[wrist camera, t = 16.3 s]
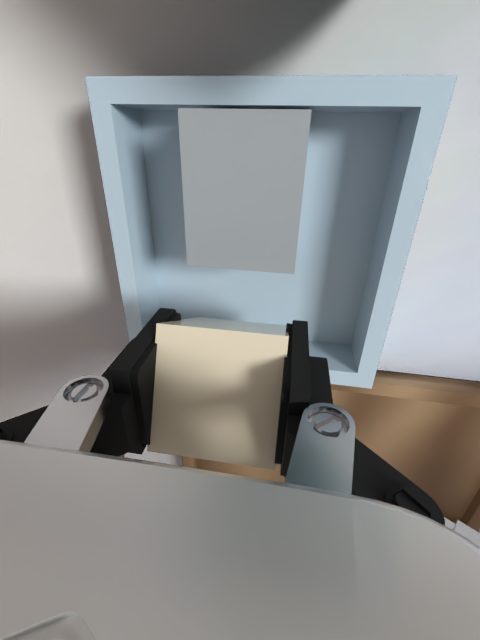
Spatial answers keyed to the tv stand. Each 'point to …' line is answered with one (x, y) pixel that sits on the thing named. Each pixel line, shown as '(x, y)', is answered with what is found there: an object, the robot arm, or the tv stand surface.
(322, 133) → the light blue tray
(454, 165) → the tv stand surface
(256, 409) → the cream rectangular block
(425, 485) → the walnut tray
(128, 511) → the robot arm
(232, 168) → the gray block
